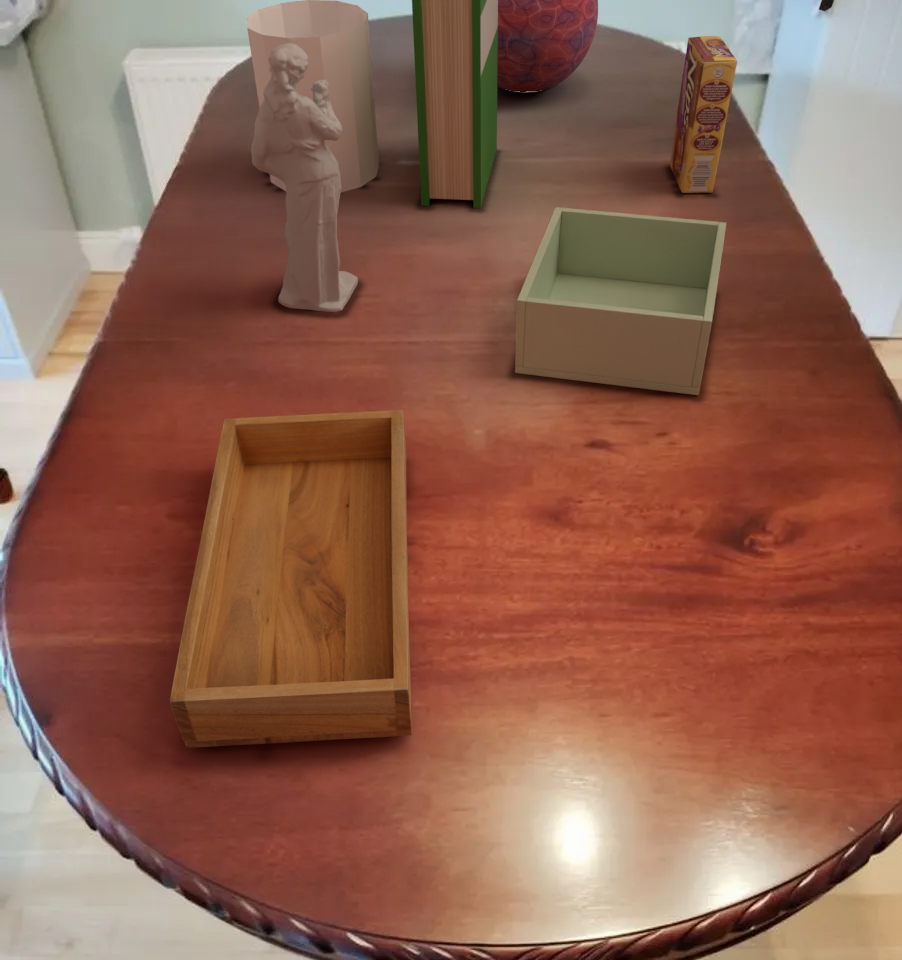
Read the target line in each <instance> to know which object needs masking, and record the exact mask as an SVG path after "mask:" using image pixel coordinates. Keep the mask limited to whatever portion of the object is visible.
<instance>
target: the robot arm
mask: <svg viewBox="0 0 902 960" xmlns="http://www.w3.org/2000/svg"><path fill="white" fill-rule="evenodd" d="M834 1H835V0H821V1H820V4H819V7H818V10H819V11H822V12H826V11H828V10H830V9H831V8H832V7H833V5H834Z"/></svg>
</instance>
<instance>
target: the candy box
mask: <svg viewBox="0 0 902 960" xmlns="http://www.w3.org/2000/svg"><path fill="white" fill-rule="evenodd" d="M686 44H687V45H686V52H685V57H684V66H683V71H682V78H681V85H680V91H679V97H678V106H677V112H676V119H675V126H674V133H673V138H672V139H673V141H672V146H671V147H672V148H671V154H670V162H669V167H670V169H671V172H672V174H673V175H674V178H675V180H676V182H677V185H678V187H679V190H680V192H681V193H682V194H711V193H714V188H715V182H716V177H717V172H718V166H719V161H720V157H721V156H720V155H721V151H722V146H723V140H724V134H725V129H726V122H727V117H728V114H729V113H728V112H729V107H730V102H731V96H732V91H733V86H734V81H735V76H736V70H737V66H738V65H737V64H738V60H737V59H736V56H735V55H734V54H733V53H732V51H731V50H730V48H729V47H728V46H727V44H726V42H725V41H724V39H723V38H722V37H721V36H717V35H702V36H692V37H690V36H689V37H688V38H687V43H686Z"/></svg>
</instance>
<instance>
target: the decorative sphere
mask: <svg viewBox="0 0 902 960" xmlns="http://www.w3.org/2000/svg"><path fill="white" fill-rule="evenodd" d="M598 20H599V0H498V56H497V86H498V87H497V88H499V87H500V88H499V89H502V88H503V89H502V90H504V89H507V90H511V91H520V92H526V91H539V92H541V91H540V90H543V91H546V90H549V89H551V88H553V87H555V86H558V85H559V84H561V83H562V82H563V81H565V80H566V79H567V78H568V77H570V76H571V75H572V74H573V73H574V72H575V71H576V70H577V69H578V67H579V66H580V65H581V64H582V62H583V61H584V59H585V57H586V56H587V55H588V53H589V51H590V48H591V46H592V43H593V41H594V38H595V34H596V31H597V25H598ZM548 88H549V89H548ZM545 89H546V90H545ZM507 90H506V91H507ZM511 91H510V92H511ZM515 93H516V94H518V93H517V92H515ZM535 93H536V92H534V93H533V94H535Z"/></svg>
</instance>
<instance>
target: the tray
mask: <svg viewBox="0 0 902 960" xmlns="http://www.w3.org/2000/svg"><path fill="white" fill-rule="evenodd" d="M404 413H405V412H404V410H403V409H398V410H397V409H396V410H378V411H377V410H376V411H375V410H373V411H353V412H352V411H351V412H336V413H335V412H333V413H316V414H315V413H314V414H313V413H312V414H296V415H294V414H293V415H292V414H291V415H274V416H253V417H233V418H225V419H224V420H223V424H222V428H221V432H220V439H219V443H218V449H217V453H216V459H215V464H214V469H213V474H212V479H211V482H210V483H211V484H210V489H209V495H208V500H207V505H206V511H205V516H204V521H203V526H202V531H201V534H200V541H199V545H198V551H197V556H196V562H195V566H194V571H193V576H192V582H191V586H190V591H189V597H188V601H187V606H186V611H185V617H184V622H183V627H182V633H181V637H180V643H179V649H178V654H177V658H176V665H175V670H174V676H173V680H172V686H171V690H170V691H171V692H170V696H169V697H170V699H169V703H170V708H171V711H172V714H173V716H174V719H175V723H176V726H177V728H178V731H179V734H180V737H181V739H182V742H184V745H185V746H186V748H189V749H190V748H211V747H226V746H243V745H245V746H246V745H262V744H263V745H264V744H279V743H280V744H281V743H297V742H298V743H299V742H317V741H332V740H333V741H335V740H349V739H367V738H368V739H369V738H385V737H387V738H388V737H402V736H403V737H404V736H405V737H406V736H412V734H413V719H412V718H413V717H412V689H411V688H412V687H411V686H412V685H411V652H410V651H411V650H410V648H411V647H410V607H409V606H410V605H409V564H408V563H409V561H408V560H409V559H408V556H409V555H408V514H407V513H408V511H407V510H408V509H407V508H408V507H407V441H406V440H407V439H406V428H405V416H404V415H405V414H404Z"/></svg>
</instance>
